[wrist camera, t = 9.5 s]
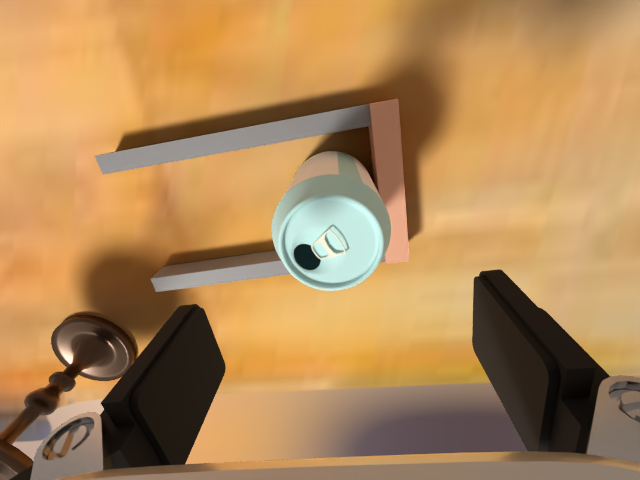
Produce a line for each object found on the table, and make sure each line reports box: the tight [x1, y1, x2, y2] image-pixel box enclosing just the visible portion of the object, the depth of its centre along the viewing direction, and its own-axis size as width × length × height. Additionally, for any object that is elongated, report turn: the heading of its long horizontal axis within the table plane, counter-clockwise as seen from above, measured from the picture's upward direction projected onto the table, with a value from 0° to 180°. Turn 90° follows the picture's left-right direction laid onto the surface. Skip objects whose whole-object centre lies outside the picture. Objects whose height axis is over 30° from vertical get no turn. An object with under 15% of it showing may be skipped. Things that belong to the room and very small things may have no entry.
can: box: [272, 151, 391, 291], centre depth 22 cm, size 7×7×12 cm
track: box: [95, 99, 409, 292], centre depth 27 cm, size 24×13×3 cm, turn 100°
